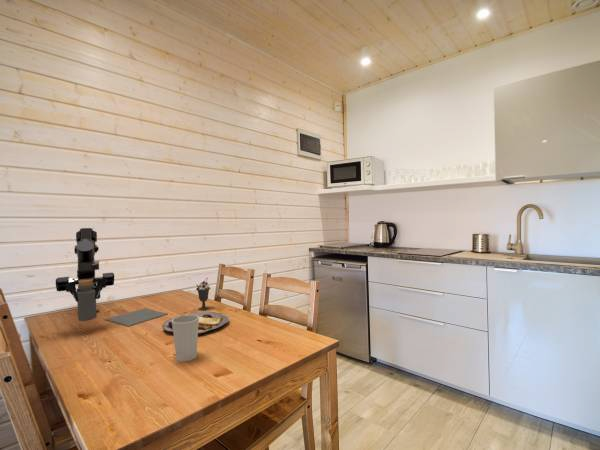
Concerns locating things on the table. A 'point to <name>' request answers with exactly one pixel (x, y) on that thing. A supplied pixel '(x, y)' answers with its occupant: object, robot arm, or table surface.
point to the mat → (136, 317)
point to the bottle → (86, 300)
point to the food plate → (203, 321)
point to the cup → (185, 337)
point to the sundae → (203, 293)
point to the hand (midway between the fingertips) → (86, 299)
